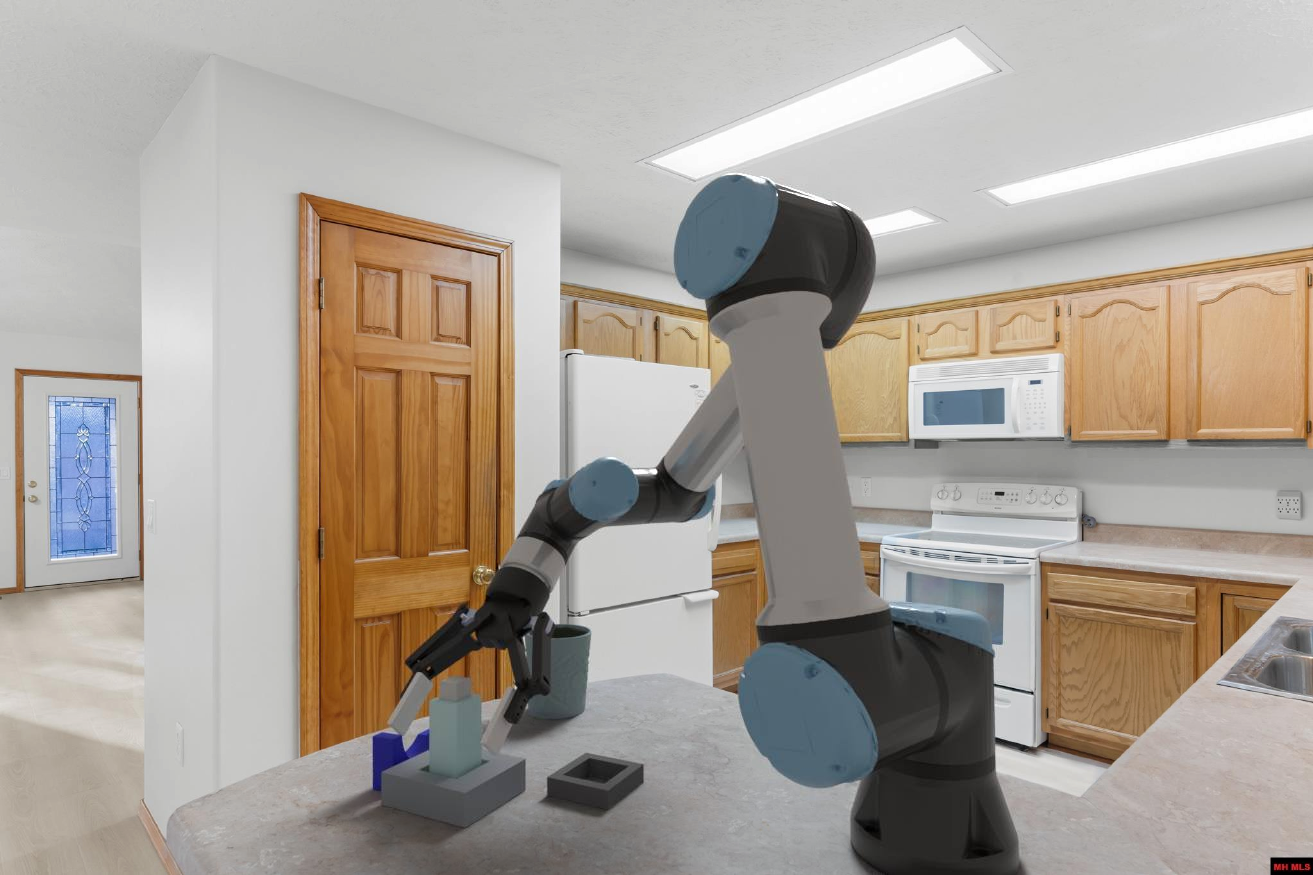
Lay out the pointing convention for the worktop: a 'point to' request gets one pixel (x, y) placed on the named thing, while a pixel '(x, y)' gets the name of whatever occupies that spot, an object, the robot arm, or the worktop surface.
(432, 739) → the capped teal pillar
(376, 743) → the cable clip
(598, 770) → the frame
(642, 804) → the worktop surface
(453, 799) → the block
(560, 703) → the grey-green tumbler cup
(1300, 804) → the worktop surface
